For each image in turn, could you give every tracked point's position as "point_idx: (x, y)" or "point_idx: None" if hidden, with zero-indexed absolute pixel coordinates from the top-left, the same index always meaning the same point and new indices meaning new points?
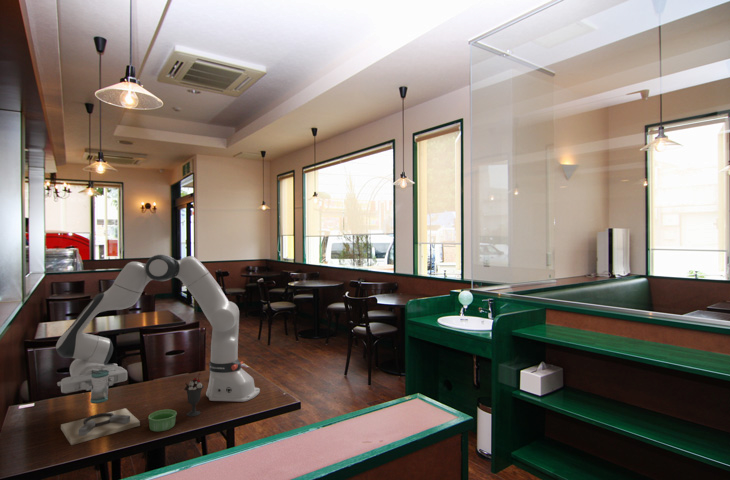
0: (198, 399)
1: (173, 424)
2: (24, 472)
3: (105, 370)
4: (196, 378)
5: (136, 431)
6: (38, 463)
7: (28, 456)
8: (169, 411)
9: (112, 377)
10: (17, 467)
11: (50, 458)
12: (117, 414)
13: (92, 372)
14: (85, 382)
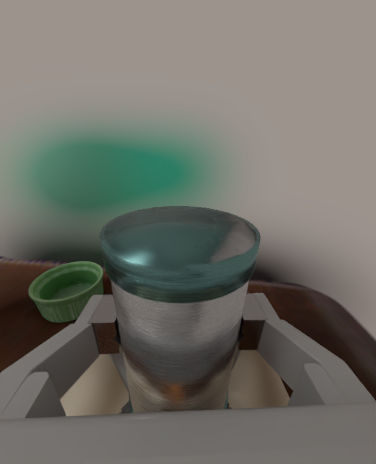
0: None
1: (67, 282)
2: (304, 287)
3: (115, 238)
4: None
5: None
6: (295, 299)
7: (338, 339)
8: (34, 292)
9: (21, 366)
10: (329, 306)
11: (280, 304)
12: None
13: (253, 246)
14: (307, 367)
